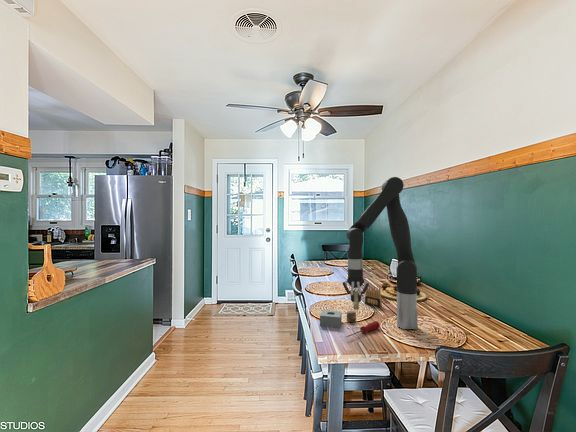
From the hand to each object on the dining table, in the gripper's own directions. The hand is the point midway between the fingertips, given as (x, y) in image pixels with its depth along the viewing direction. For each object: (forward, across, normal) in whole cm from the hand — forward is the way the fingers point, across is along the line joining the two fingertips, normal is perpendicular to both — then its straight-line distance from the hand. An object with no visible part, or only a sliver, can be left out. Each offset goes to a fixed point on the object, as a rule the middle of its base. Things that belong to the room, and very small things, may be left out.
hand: (356, 301), depth 150 cm
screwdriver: (+12, -3, +11) cm, 17 cm away
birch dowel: (+4, 0, 0) cm, 4 cm away
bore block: (+11, +13, 0) cm, 17 cm away
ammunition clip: (+12, -10, -38) cm, 41 cm away
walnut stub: (+12, +3, -6) cm, 13 cm away
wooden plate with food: (+13, -31, -68) cm, 76 cm away
